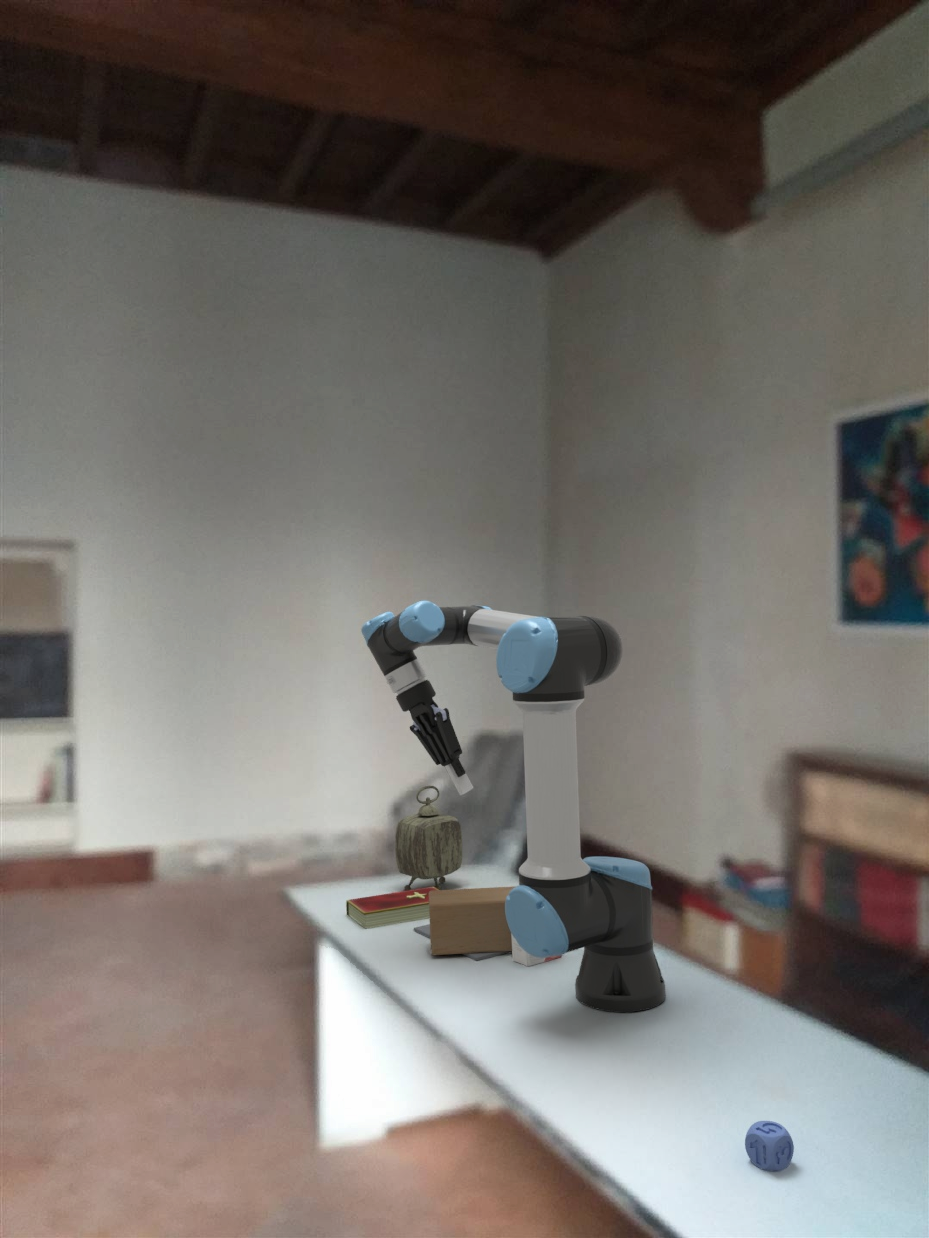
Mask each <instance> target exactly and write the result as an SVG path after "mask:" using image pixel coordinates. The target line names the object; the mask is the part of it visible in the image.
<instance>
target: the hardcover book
mask: <svg viewBox="0 0 929 1238" xmlns="http://www.w3.org/2000/svg"><path fill="white" fill-rule="evenodd" d="M433 890H439V889H437V888H435V887H434V886H429V887H428V886H427V887H423V888H417V889H416V888H415V889H411V890H408V891H405V890H403V891H396V892H389V893H385V894H384V893H383V894H378V895H377V894H376V895H370V896H365V897H358V898H351V899H346V902H345V904H346V906H345V908H346V916H347V915H350V916H351V917H352V918H351V917H350V916H349V917H350V918H351V919H352V920H354V921H355V920H356V921H357V922H356V921H355V922H356V923H358V925H360V926H361V927H363V928H364V929H372V928H378V927H383V926H390V925H397V924H403V923H407V922H414V921H419V920H425V919H430V917H429V891H433Z"/></svg>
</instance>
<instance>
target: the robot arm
mask: <svg viewBox="0 0 929 1238" xmlns="http://www.w3.org/2000/svg"><path fill="white" fill-rule="evenodd" d="M360 630H361V631H360V632H361V634H362V635H363V639H364V640H365V643H366V646H367V648H368V649H369V651H370V653H371V655H372V656H373V659H374V660H375V661H376V663H377V665H378V667H379V669H380V671H381V672H382V674H383V676H384V677H385V680H386V684H388V686H389V687H390V689H391V691H392V693H393V694H397V695H396V698H395V699H396V701H397V703H398V705H399V707H400V709H401V711H402V712H404V713H405V712H408V711H409V713H410V716H411V720H412V721H413V724H412V725H410V726H409V730H410V731H411V733H413V734H414V735H415V736H416V738H417V739H418V741H420V743H421V745H422V746H423V748H424V750H425V751H426V752H427V753H428V755H429V756H430V758H431V759H432V761H433V762H434V764H435V765H436V766H439V765H441V766H442V767H444V768H445V770H446V772H447V774H448V775H449V777H450V779H451V781H452V783H453V785H454V787H455V788H456V791H457V792H458V794H459V796H462V795H464V794H465V795H466V793H468V792H470V791H472V790H473V789H474V785H473V784H472V781H471V780H470V778H469V777H468V774H467V772H466V770H465V768H464V767H463V764H462V763H461V761H460V756H461V755H462V754H463V749H462V747H461V744H460V742H459V739H458V737H457V734H456V731H455V728H454V727H453V722H452V721H451V716H450V710H449V709H448V708H447V707H445V708H443V709H441V708H439V705H438V704H437V703H436V702H435V700H434V699H433V698H434V697H435V696H436V691H435V689H434V687H433V685H432V683H431V681H430V680H428V679H426V677H427V673H426V672H425V670H424V667H423V666H422V664H421V662H420V660H419V659H418V656H417V655H416V654H415V652H414V651H415V650H416V649H418V648H420V647H429V646H430V647H431V646H447V645H448V646H450V645H468V646H469V645H470V646H475V647H482V648H487V649H491V650H494V651H495V650H496V658H495V659H496V661H495V662H496V664H495V665H496V672H497V675H498V677H499V678H501V683H502V685H503V686H504V688H506V690H509V691H511V692H512V702H513V704H515V706H516V707H518V708H519V709H520V710H521V712H522V727H523V728H522V730H523V731H522V733H523V736H522V737H523V757H524V758H523V761H524V787H525V788H524V789H525V814H526V815H525V819H526V820H525V821H526V844H527V845H526V848H527V858H526V860H525V861H524V862H523V863H522V864H521V865H520V867H518V882H519V883H518V885H516V887H515V888H513V889H512V890H511V891H510V892H509V895H508V896H507V898H506V902H505V915H506V920H507V923H508V926H509V929H510V931H511V933H512V935H513V937H514V938H515V939H516V941H517V943H518V944H519V945H520V947H521V948H522V949H523V950H524V951H526V952H527V953H528V954H530V955H532V956H534V957H538V958H547V957H551V956H561V955H562V956H563V955H565V954H566V953H567V954H568V953H569V952H574V951H575V950H579V949H582V948H583V953H582V957H581V961H580V966H579V970H578V974H577V976H576V979H575V983H574V985H575V997H576V999H577V1000H578V1001H579V1002H580V1003H581V1004H583V1005H584V1006H588V1007H589V1008H593V1009H597V1010H602V1011H606V1012H613V1013H614V1012H615V1013H619V1012H620V1013H628V1012H629V1013H630V1012H631V1013H632V1012H640V1011H645V1010H649V1009H652V1008H655V1007H657V1006H659V1005H661V1004H662V1003H663V1002H664V1001H665V1000H666V996H667V995H666V983H665V979H664V977H663V976H662V971H661V968H660V966H659V962H658V960H657V957H656V954H655V951H654V950H655V949H654V932H653V929H654V927H653V892H652V891H653V886H652V883H651V882H652V881H651V871H650V869H649V868H648V866H647V865H646V864H645V863H643V862H640V861H638V860H634V859H629V858H623V857H617V856H616V857H614V856H586V857H584V858H582V857H581V831H580V830H581V829H580V827H581V826H580V801H579V795H580V794H579V773H578V772H579V770H578V766H579V765H578V744H577V743H578V742H577V741H578V740H577V718H576V717H577V715H576V713H577V712H576V711H577V709H578V707H580V705H581V704H582V703H583V702H584V701H586V700H585V698H586V697H585V686H586V687H587V686H592V685H597V684H599V683H603V682H604V681H606V680H607V679H609V678H610V677H611V676H613V675H614V673H615V672H616V671H617V669H618V667H619V666H620V664H621V662H622V658H623V650H624V648H623V642H622V638H621V636H620V634H619V632H618V630H617V629H616V628H615V626H613V625H612V624H611V623H610V622H609V621H608V620H605V619H604V618H602V617H598V616H593V615H579V616H573V615H572V616H535V615H531V614H530V615H529V614H522V613H516V612H509V611H504V610H496V609H492V607H489V606H483V605H477V604H475V605H469V606H467V605H466V606H438V605H437V604H435V603H433V602H431V601H430V600H420V601H417V602H415V603H413V604H411V605H409V606H407V607H406V608H404V609H403V610H402V611H401V612H400V613H398V614H396V616H395V614H394V613H393V612H392V611H386V612H383V613H381V614H379V615H377V616H375V617H374V618H371V619H370V620H368V621H366V622H365V623H364V624H363V625H362V626H361V628H360ZM562 956H561V957H562Z"/></svg>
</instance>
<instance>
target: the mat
mask: <svg viewBox="0 0 929 1238" xmlns="http://www.w3.org/2000/svg"><path fill="white" fill-rule="evenodd" d="M413 931H414V932H416V933H418V934H420V935H422V936H424V937H427V938H428V939H430V923H429V924H425V925H424V924H423V925H419V926H416V927H415V926H414V927H413ZM509 953H512V951H502V952H483V953H464V954H462V955H463V956H466V957H468V958H470V959H472V960H474V961H476V962H477V961H481V960H482V961H483V960H486V959H490V958H493V957H498V956H502V955H505V954H509Z"/></svg>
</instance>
